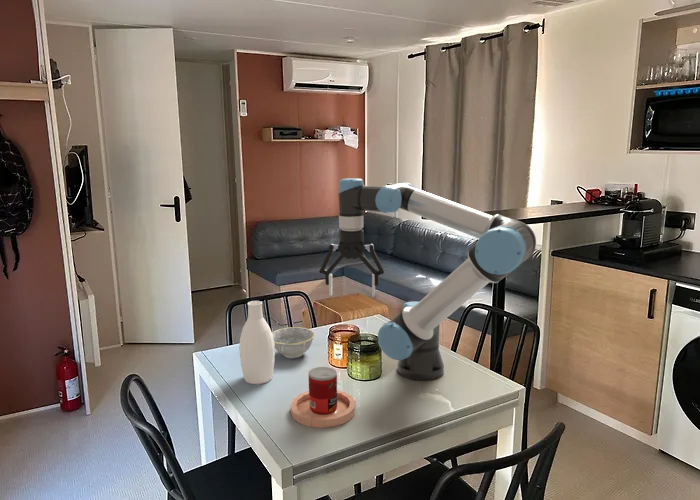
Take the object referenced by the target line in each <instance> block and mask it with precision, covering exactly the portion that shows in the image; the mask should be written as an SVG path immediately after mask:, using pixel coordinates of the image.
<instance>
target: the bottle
mask: <svg viewBox="0 0 700 500" xmlns="http://www.w3.org/2000/svg"><path fill="white" fill-rule="evenodd" d="M272 333H273V331H272V330H271V328H270V325H269V324H268V322H267V321H266V319H265V318H264V315H263V302H262V301H260V300H251V301H248V302H247V320H246V322H245V323H244V325H243V327H242V330H241V334H240V338H239V346H238V348H239V349H238V350H239V359H240V366H241V372H242V375H243V378H244V381H245V382H246V383H248V384H249V385H262V384H266V383H268V382H270V381H271V380H272V379H273V376H274V367H275V347H274V346H275V344H274V339H273V335H272Z"/></svg>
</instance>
